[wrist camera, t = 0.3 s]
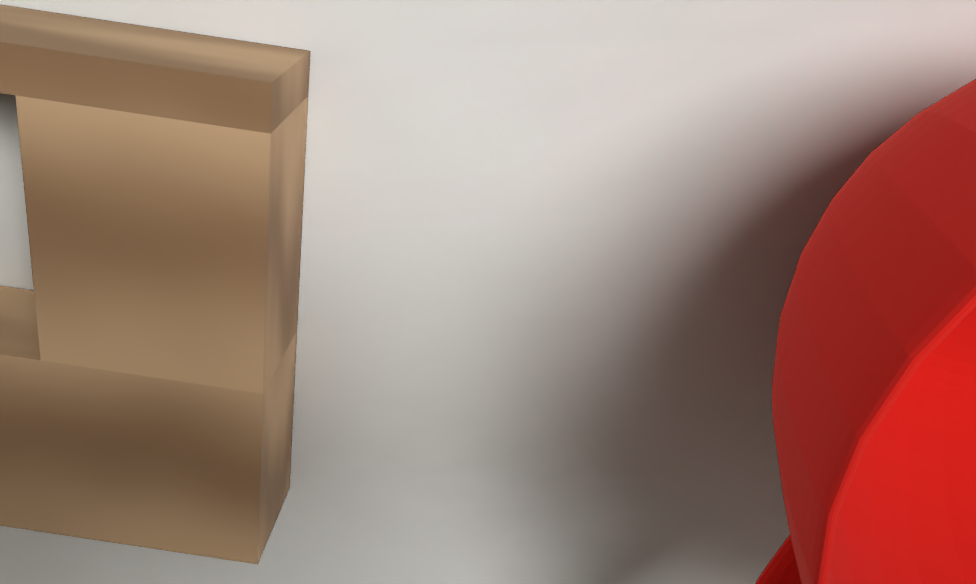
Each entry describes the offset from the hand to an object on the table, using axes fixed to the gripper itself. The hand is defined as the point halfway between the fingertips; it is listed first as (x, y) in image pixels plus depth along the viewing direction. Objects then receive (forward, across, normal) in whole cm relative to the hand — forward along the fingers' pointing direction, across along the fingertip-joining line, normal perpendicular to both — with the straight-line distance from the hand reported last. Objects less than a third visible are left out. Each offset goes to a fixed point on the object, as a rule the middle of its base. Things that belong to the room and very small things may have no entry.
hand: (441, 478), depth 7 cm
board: (+14, +12, +6) cm, 19 cm away
